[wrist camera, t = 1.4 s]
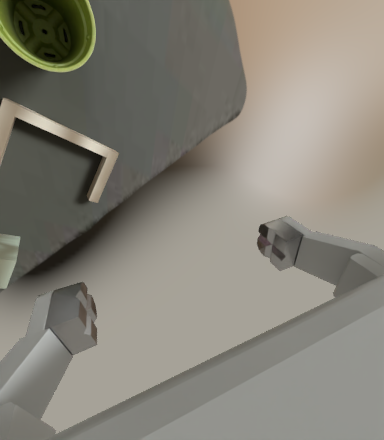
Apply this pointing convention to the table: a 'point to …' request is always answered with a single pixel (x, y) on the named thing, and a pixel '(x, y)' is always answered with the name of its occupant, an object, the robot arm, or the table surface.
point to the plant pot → (49, 32)
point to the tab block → (7, 257)
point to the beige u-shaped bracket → (8, 111)
